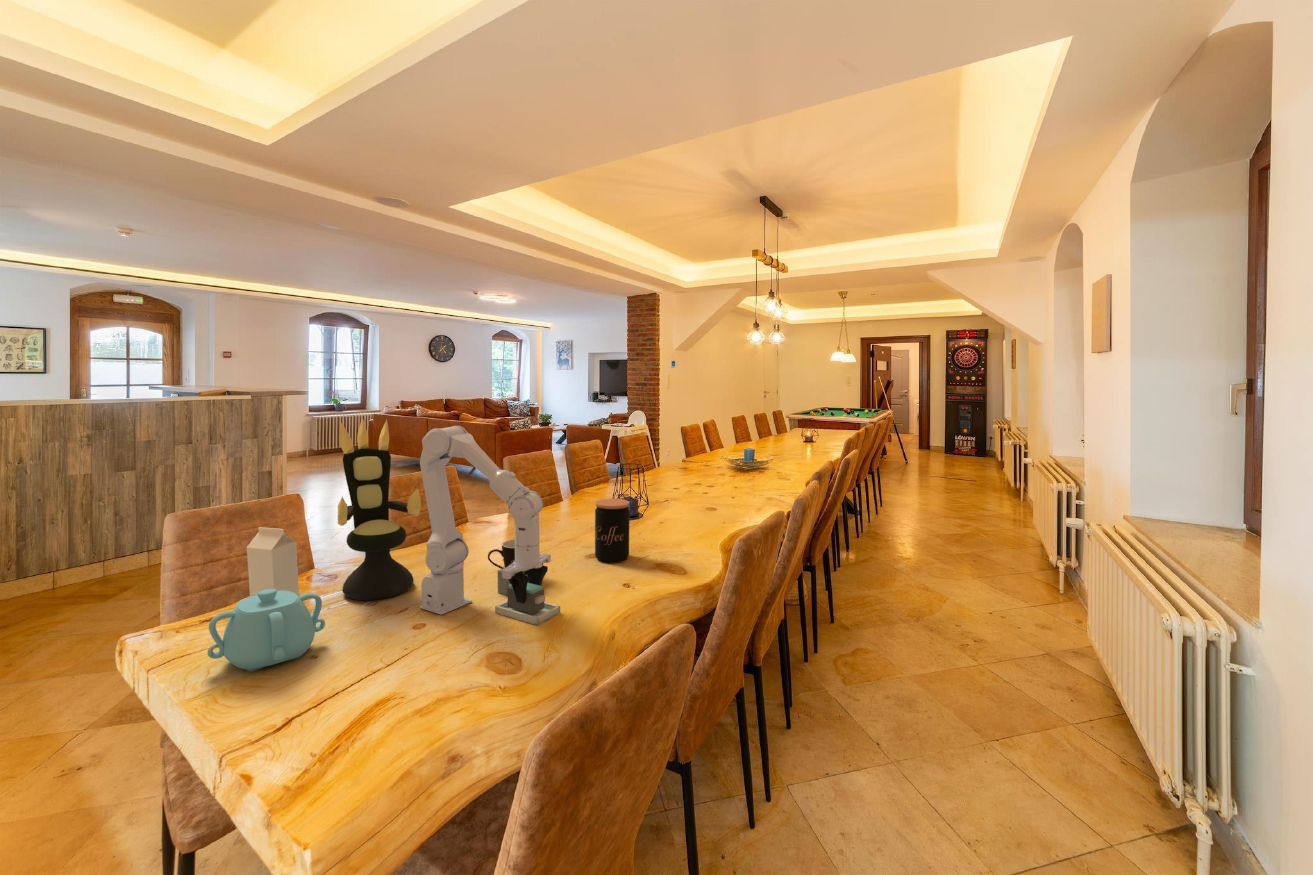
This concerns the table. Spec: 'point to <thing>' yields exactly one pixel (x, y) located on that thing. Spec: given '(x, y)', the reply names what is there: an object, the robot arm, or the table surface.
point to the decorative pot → (266, 629)
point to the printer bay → (504, 583)
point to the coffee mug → (506, 554)
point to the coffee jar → (612, 530)
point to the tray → (534, 618)
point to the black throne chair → (373, 518)
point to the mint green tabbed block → (527, 599)
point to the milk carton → (272, 562)
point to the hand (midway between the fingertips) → (527, 598)
